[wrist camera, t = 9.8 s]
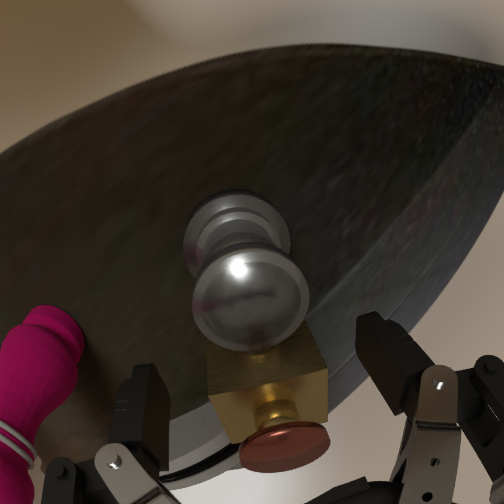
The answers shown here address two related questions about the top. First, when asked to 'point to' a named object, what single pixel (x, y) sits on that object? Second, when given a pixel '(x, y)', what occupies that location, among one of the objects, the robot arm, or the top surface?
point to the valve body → (265, 371)
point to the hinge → (198, 449)
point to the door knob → (246, 283)
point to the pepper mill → (33, 390)
